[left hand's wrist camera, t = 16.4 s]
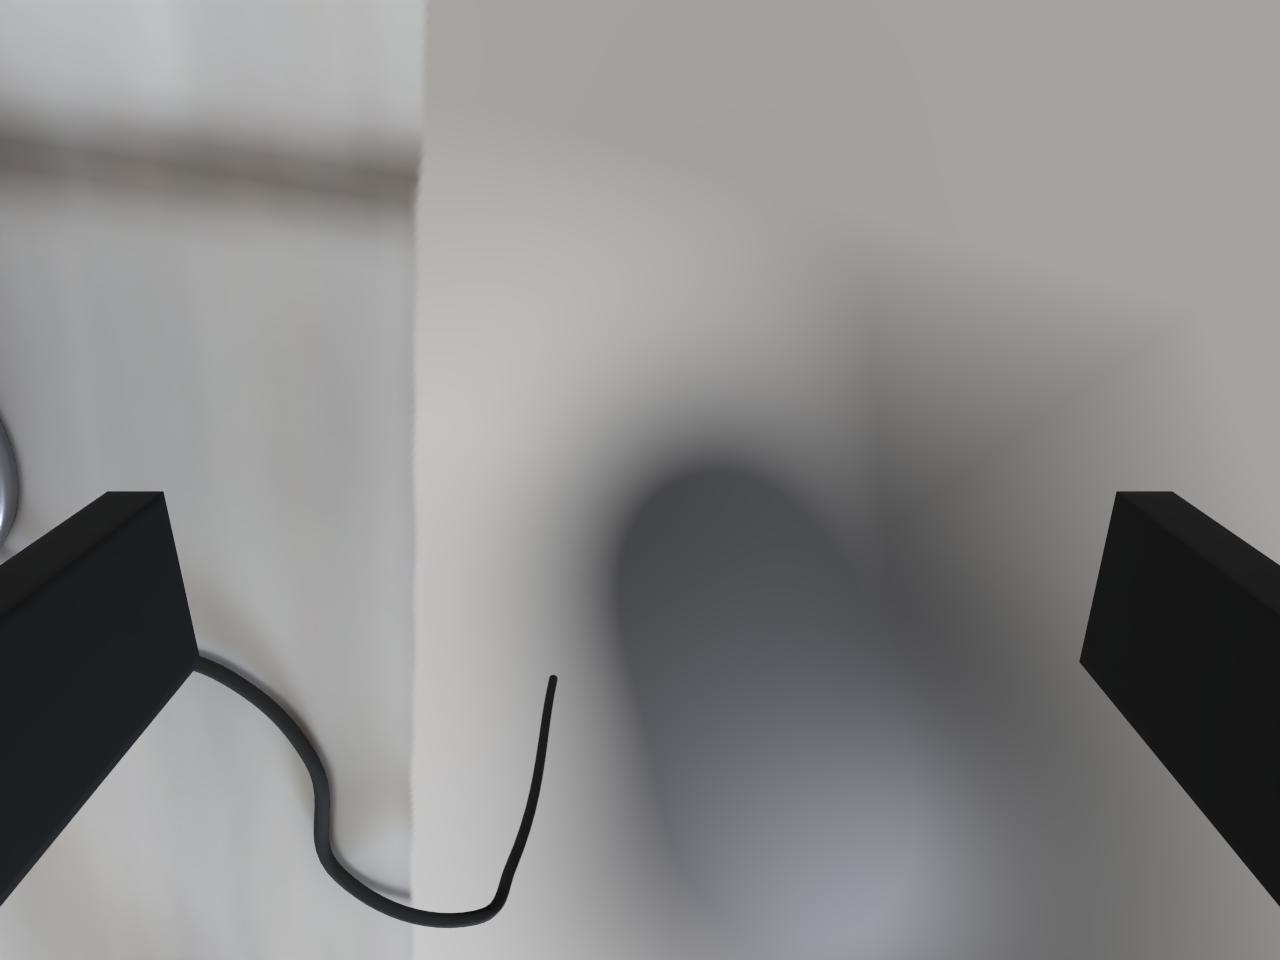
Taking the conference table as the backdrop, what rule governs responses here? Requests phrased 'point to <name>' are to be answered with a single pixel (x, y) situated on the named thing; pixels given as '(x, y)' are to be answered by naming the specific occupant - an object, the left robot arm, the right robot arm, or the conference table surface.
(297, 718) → the conference table surface
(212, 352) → the conference table surface
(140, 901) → the conference table surface
